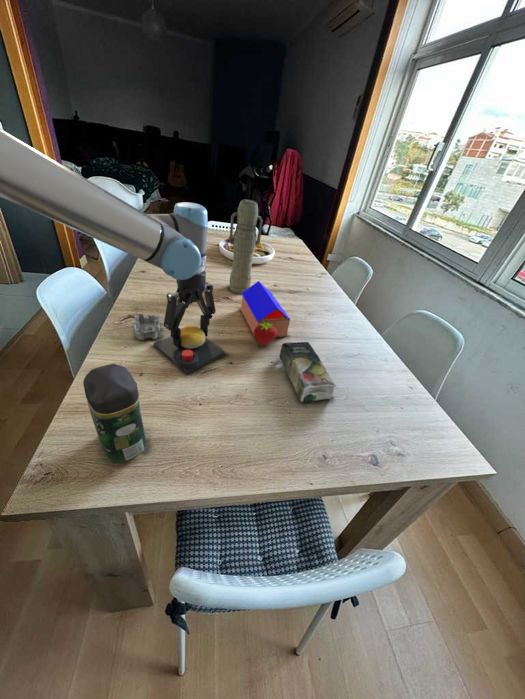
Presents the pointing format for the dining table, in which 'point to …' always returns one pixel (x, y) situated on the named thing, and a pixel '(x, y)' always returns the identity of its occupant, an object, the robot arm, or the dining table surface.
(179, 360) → the red button pad
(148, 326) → the egg carton
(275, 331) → the strawberry
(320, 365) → the juice carton
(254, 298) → the house
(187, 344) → the bread roll
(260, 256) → the bowl
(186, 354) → the power button
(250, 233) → the thermos
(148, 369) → the dining table surface
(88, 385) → the coffee jar
